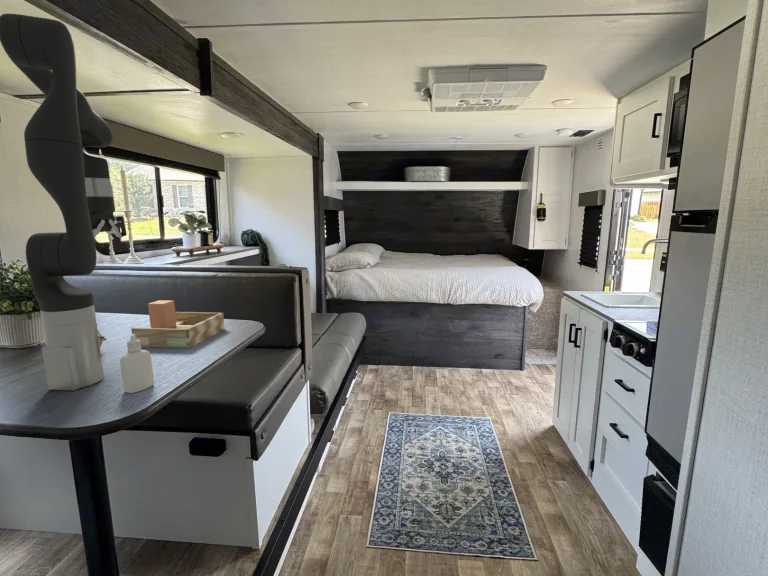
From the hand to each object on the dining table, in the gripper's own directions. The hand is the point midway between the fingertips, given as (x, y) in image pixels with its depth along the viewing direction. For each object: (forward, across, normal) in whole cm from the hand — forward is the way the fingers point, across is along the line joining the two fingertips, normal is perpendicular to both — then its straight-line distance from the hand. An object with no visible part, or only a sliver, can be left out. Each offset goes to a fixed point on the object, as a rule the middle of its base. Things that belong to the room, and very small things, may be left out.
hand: (105, 253), depth 115 cm
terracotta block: (+23, +5, -12) cm, 27 cm away
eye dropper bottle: (+25, -29, -34) cm, 51 cm away
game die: (+26, -13, -3) cm, 29 cm away
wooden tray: (+26, +6, -18) cm, 32 cm away
